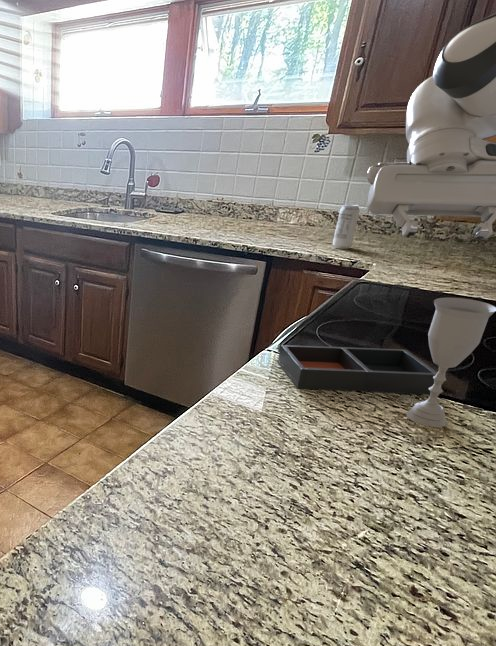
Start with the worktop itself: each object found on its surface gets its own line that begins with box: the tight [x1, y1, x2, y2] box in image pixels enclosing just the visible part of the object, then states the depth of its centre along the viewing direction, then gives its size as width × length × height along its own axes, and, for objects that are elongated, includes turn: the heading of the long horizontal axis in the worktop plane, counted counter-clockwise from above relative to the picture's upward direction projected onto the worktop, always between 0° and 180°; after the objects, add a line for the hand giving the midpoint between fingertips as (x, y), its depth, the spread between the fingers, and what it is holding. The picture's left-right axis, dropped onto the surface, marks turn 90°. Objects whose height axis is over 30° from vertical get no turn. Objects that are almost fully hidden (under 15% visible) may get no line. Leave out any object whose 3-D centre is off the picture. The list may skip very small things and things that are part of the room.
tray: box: [277, 344, 438, 396], centre depth 92 cm, size 21×11×4 cm, turn 81°
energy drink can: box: [332, 203, 361, 250], centre depth 189 cm, size 6×6×15 cm
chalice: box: [405, 297, 496, 428], centre depth 76 cm, size 7×7×18 cm
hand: (446, 235), depth 80 cm, fingers open, 8 cm apart
